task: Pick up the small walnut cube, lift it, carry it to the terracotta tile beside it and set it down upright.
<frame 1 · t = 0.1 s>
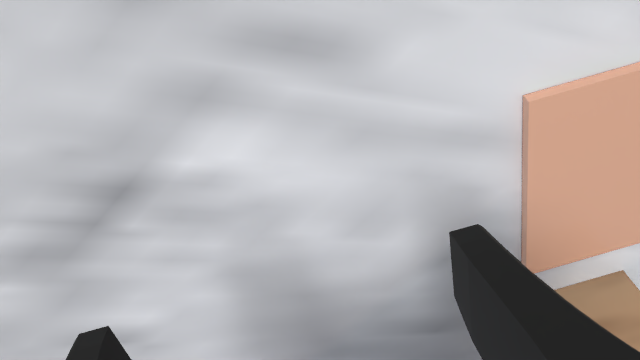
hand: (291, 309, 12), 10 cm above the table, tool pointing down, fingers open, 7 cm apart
terracotta tile: (631, 160, 26), on the table
walnut cube: (572, 312, 32), on the table
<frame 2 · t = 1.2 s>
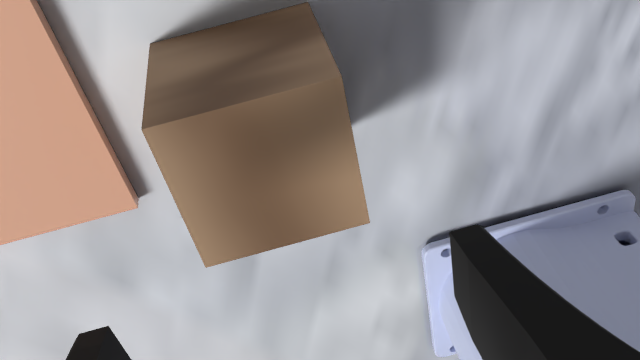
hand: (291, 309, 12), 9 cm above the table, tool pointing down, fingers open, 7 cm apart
walnut cube: (250, 91, 20), on the table
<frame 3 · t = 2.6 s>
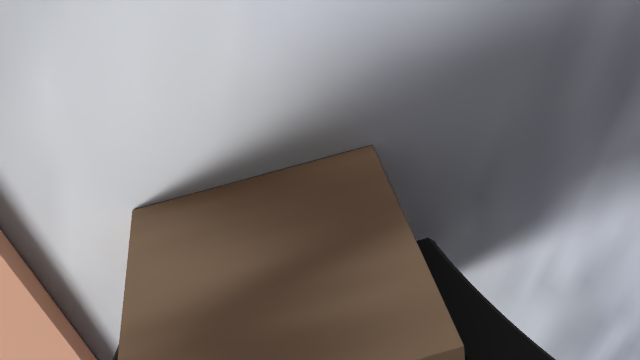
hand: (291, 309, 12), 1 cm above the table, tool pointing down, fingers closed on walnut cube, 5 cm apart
walnut cube: (281, 261, 14), on the table, touching gripper
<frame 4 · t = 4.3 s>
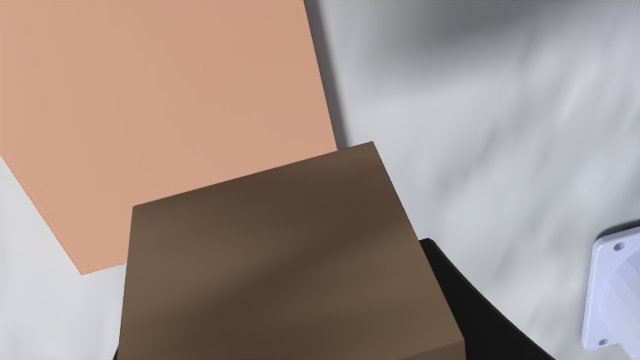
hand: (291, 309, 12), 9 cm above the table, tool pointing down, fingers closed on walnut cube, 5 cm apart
terracotta tile: (166, 117, 19), on the table
walnut cube: (281, 257, 14), point 7 cm above the table, touching gripper
when the fingers open (3 cm above the table, at t = 6.0 s): walnut cube drops 1 cm, resting on terracotta tile.
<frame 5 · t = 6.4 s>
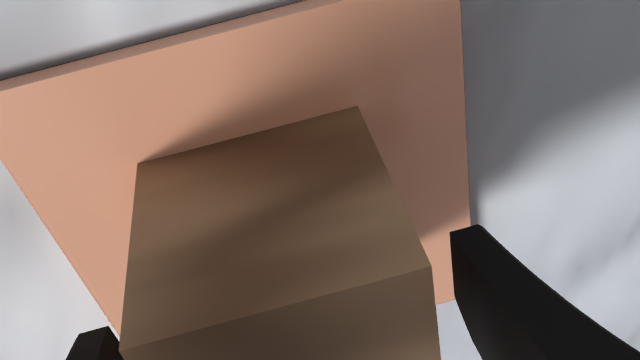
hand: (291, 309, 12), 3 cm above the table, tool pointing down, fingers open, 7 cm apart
terracotta tile: (271, 206, 15), on the table
walnut cube: (274, 216, 15), resting on terracotta tile
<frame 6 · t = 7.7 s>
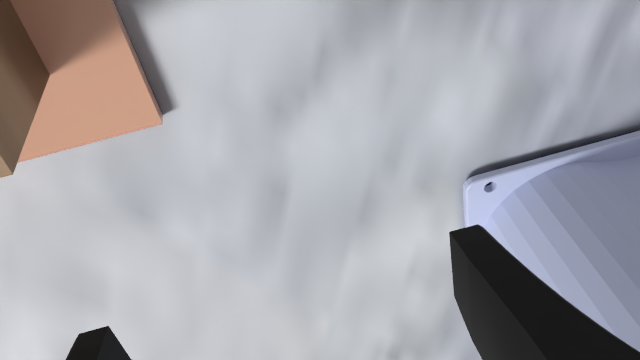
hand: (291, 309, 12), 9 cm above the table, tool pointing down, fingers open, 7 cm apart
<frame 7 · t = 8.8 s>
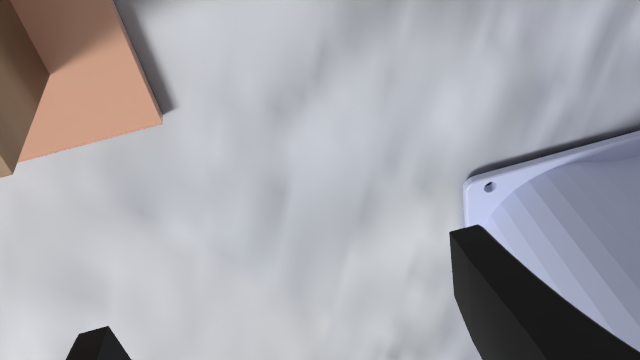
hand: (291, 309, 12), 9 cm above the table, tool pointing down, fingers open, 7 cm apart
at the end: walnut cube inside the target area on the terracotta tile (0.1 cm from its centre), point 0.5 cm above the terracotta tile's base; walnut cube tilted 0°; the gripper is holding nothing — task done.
